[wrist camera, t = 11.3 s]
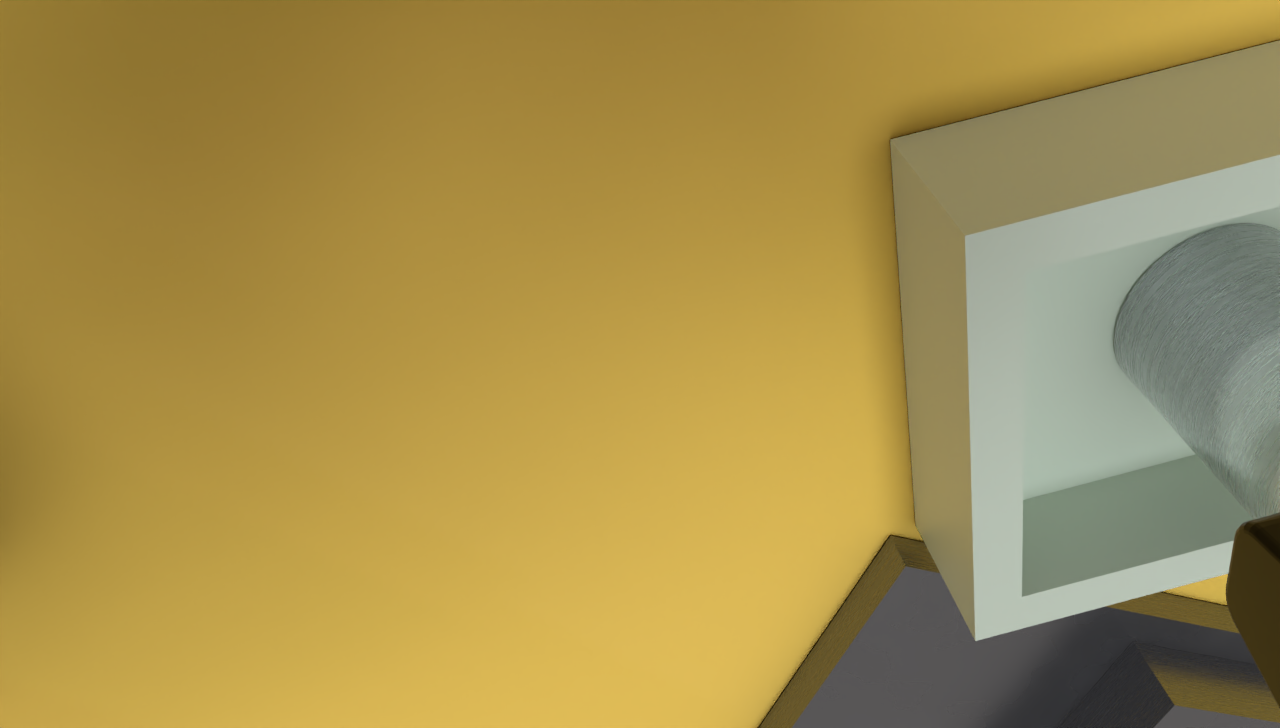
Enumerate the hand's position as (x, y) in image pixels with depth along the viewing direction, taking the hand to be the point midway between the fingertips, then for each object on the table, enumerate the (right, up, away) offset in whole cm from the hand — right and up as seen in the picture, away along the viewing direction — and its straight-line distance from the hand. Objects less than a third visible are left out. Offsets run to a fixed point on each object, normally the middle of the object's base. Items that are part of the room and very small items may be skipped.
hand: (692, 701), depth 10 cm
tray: (+11, +4, +16) cm, 19 cm away
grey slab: (+10, -6, +23) cm, 26 cm away
